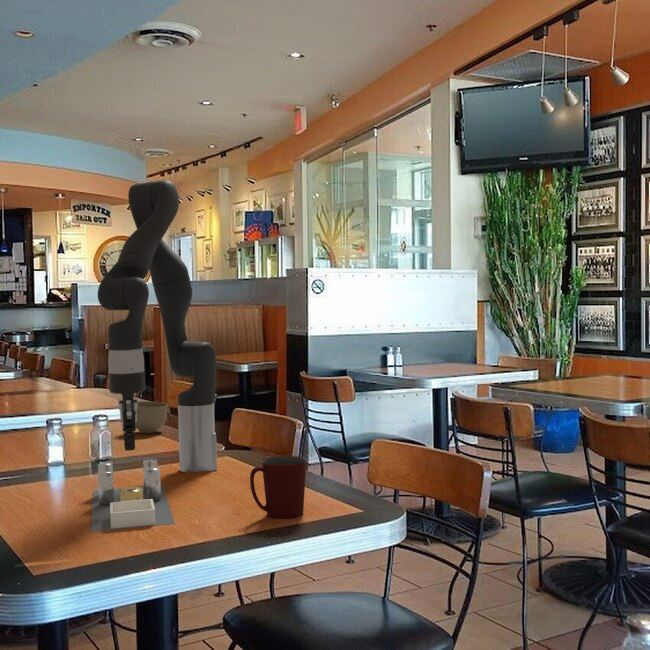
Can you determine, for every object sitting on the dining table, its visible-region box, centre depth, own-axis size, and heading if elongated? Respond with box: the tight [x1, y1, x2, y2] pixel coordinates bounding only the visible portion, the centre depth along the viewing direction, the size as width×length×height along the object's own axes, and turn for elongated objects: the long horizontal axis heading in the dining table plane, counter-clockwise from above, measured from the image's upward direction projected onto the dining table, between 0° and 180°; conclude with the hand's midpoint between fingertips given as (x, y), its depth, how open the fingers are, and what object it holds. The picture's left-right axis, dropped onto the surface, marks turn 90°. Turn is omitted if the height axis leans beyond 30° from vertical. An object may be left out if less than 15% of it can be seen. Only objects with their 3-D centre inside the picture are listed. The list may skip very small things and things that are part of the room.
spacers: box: [97, 458, 162, 506], centre depth 181 cm, size 13×12×7 cm
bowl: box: [135, 401, 169, 434], centre depth 268 cm, size 13×13×10 cm
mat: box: [90, 484, 176, 533], centre depth 173 cm, size 16×34×1 cm, turn 15°
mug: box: [249, 455, 307, 519], centre depth 165 cm, size 12×9×11 cm
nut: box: [120, 486, 143, 502], centre depth 171 cm, size 5×5×4 cm
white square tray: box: [110, 499, 155, 529], centre depth 162 cm, size 8×8×3 cm
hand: (129, 449), depth 175 cm, fingers closed
